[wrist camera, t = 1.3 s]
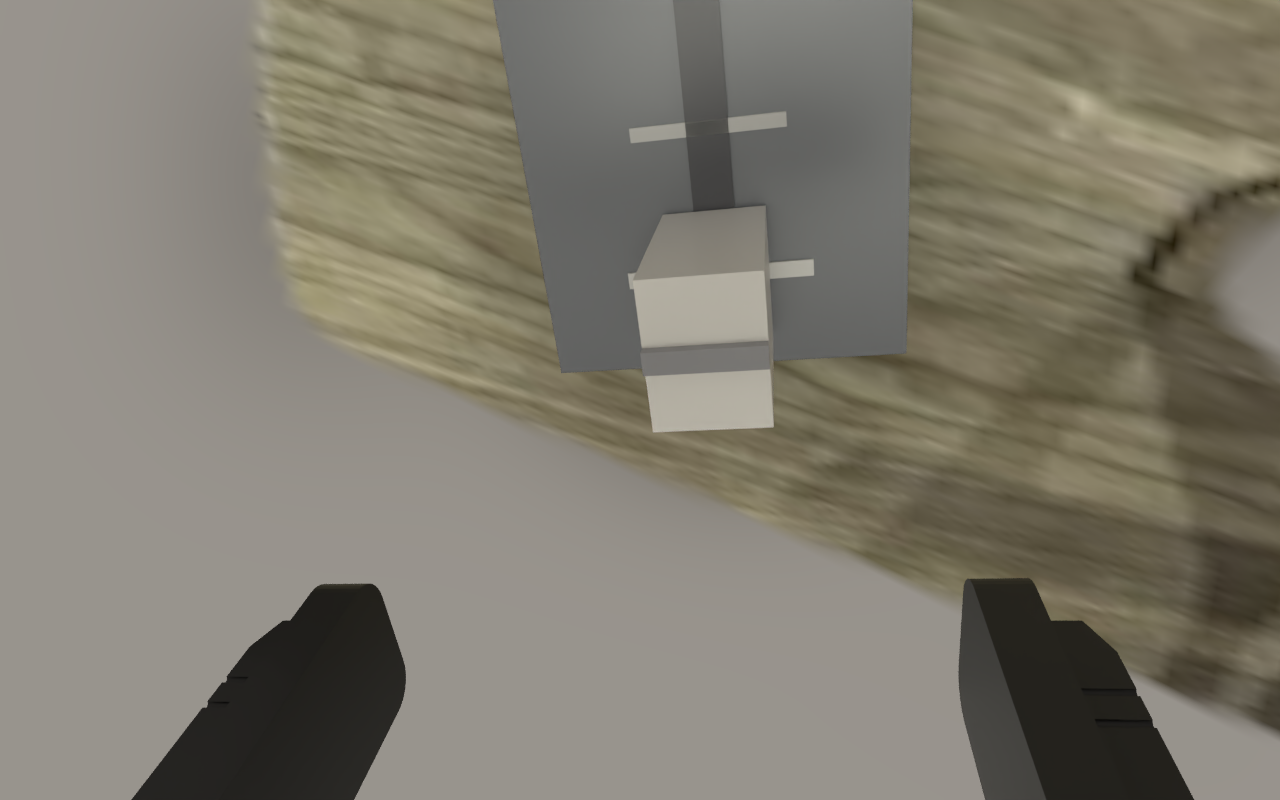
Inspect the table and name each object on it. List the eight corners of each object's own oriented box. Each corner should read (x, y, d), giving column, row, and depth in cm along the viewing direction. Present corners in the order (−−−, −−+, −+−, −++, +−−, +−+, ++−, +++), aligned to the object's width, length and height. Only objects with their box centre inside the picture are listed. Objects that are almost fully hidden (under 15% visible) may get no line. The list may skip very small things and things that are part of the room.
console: (901, -426, 20) (922, -491, 17) (893, 317, 28) (907, 354, 25) (467, -329, 22) (422, -374, 19) (580, 338, 30) (560, 374, 27)
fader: (765, 205, 24) (763, 274, 18) (773, 333, 25) (774, 433, 20) (662, 214, 24) (630, 284, 19) (677, 340, 26) (651, 438, 20)
